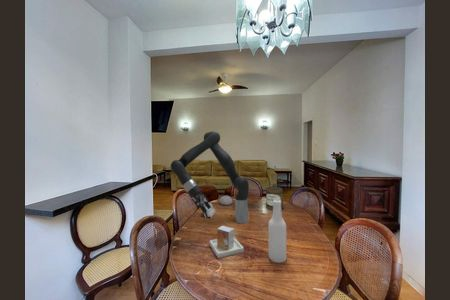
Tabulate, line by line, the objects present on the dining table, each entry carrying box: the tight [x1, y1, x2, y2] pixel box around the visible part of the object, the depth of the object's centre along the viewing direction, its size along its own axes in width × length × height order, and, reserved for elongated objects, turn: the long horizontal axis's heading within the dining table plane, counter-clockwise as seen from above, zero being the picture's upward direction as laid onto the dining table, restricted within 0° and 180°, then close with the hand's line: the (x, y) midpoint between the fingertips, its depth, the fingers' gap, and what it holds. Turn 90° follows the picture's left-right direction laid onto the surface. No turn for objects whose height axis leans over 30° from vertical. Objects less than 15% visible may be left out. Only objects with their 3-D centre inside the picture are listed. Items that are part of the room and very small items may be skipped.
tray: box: [209, 237, 245, 260], centre depth 110 cm, size 15×15×2 cm
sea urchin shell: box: [218, 195, 233, 206], centre depth 191 cm, size 13×14×8 cm
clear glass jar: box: [265, 183, 284, 212], centre depth 176 cm, size 15×15×22 cm
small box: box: [216, 225, 235, 250], centre depth 110 cm, size 8×6×10 cm
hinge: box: [203, 202, 216, 219], centre depth 164 cm, size 17×5×10 cm, turn 170°
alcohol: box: [268, 200, 287, 264], centre depth 99 cm, size 9×9×30 cm
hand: (207, 210), depth 116 cm, fingers open, 8 cm apart
